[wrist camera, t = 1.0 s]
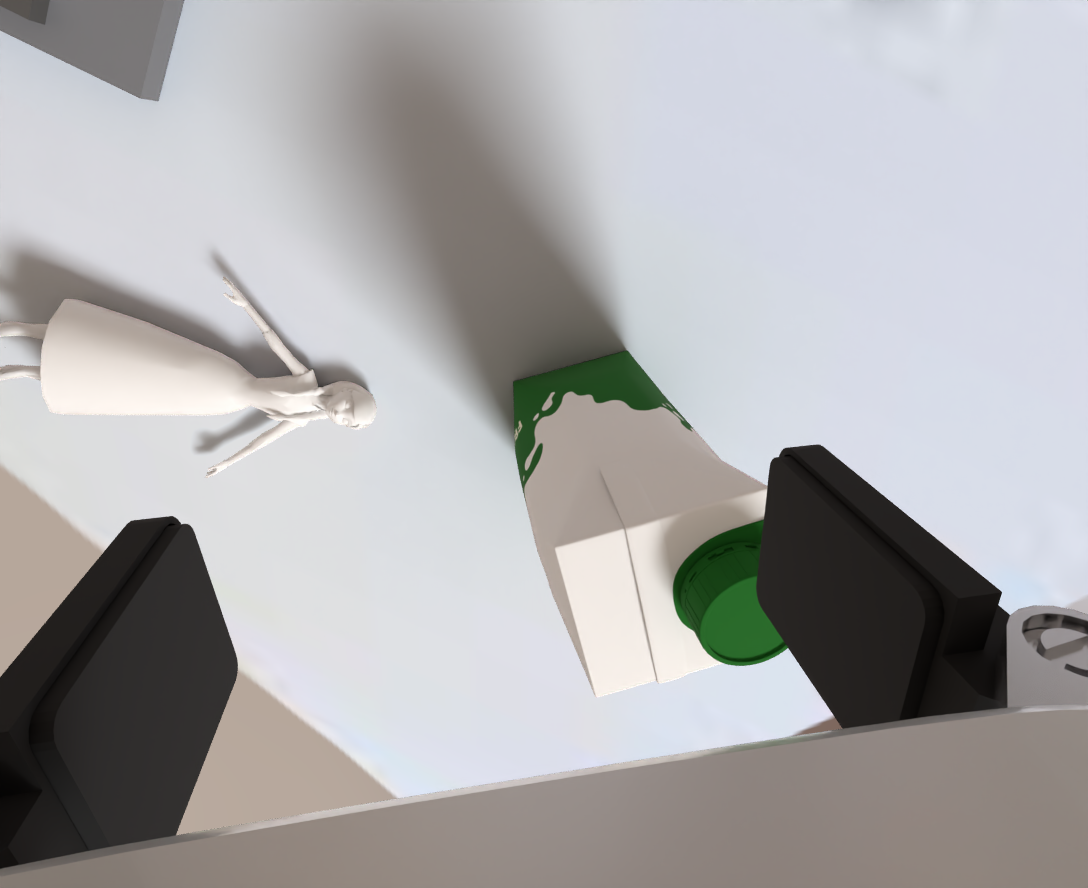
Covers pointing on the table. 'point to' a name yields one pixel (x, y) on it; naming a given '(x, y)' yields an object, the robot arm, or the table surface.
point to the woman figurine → (173, 374)
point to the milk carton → (639, 527)
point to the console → (101, 37)
